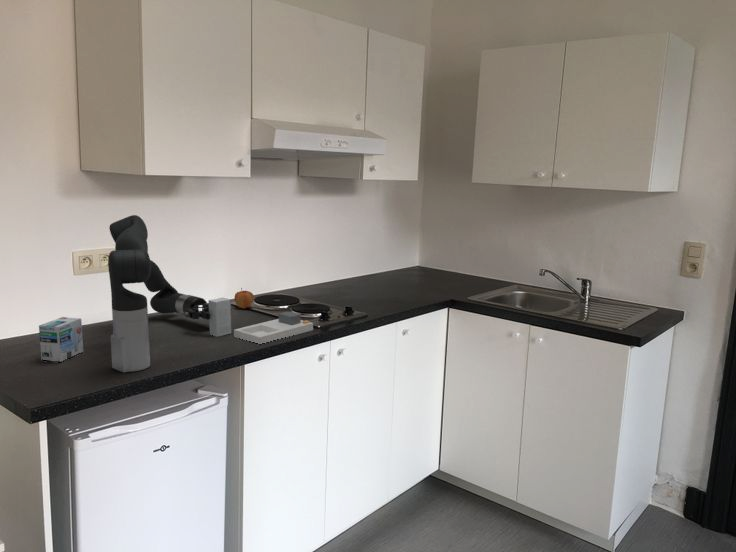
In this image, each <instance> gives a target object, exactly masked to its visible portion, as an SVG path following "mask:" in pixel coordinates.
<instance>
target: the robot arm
mask: <svg viewBox="0 0 736 552" xmlns="http://www.w3.org/2000/svg"><path fill="white" fill-rule="evenodd" d="M108 228H109V233H110V236H111V237H112V239H113V241H114V243H115V248H114V250H112V251H110V252H109V254H108V258H107V266H108V275H109V276H108V277H109V282H110V283H109V285H110V292H111V294H110V295H111V313H112V314H111V315H112V331H113V332H112V334H111V335H110V353H111V367H112V369H114V370H116V371H118V372H121V373H127V372H128V373H129V372H138V371H142V370H145V369H147V368H149V367H150V366H151V354H150V353H151V352H150V333H149V311H148V299H147V297H146V296H145V295H144V294H141V293H137V292H135V291H132V290H129V289H127V288H126V287H125V286H124V285H126V284H127V285H128V284H141V283H142V284H144V285H145V287H146V289H147V290H148V291H149V292H150V293H155V294H154V295H153V296H152V297H151V298H150V300H149V304H150V307H151V309H153V311H154V312H156V313H158V314H174V313H177V314H179V315H182V316H184V317H186V318H189V319H192V320H200V319H203V320H208V321H209V319H210V313H209V302H207V301H206V299H204V298H202V297H199V296H195V295H192V294H184V293H180V292H179V291H178V290H177V289H176V288H175V287H174V286H173V285H171V284H170V282H168V280H167V279H166V278H165V276H164V274H163V272H162V270H161V268H160V267H159V266H158V264H157V263H156V262H154V261H153V260H151V258H150V254H149V246H148V236H149V235H148V229H147V226H146V222H145V221H144V219H142V218H141V217H140V216H139V215H135V214H133V215H130V216H126V217H124V218H122V219H121V218H120V219H119V220H116V221H114V222H112V223H111V224H109V227H108Z"/></svg>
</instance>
